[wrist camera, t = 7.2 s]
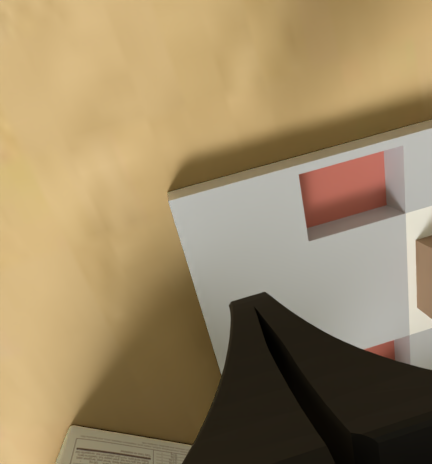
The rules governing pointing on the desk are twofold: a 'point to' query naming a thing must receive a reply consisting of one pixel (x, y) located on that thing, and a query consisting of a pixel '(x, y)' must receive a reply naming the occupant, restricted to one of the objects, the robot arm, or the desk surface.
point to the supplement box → (117, 448)
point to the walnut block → (424, 275)
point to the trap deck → (319, 241)
